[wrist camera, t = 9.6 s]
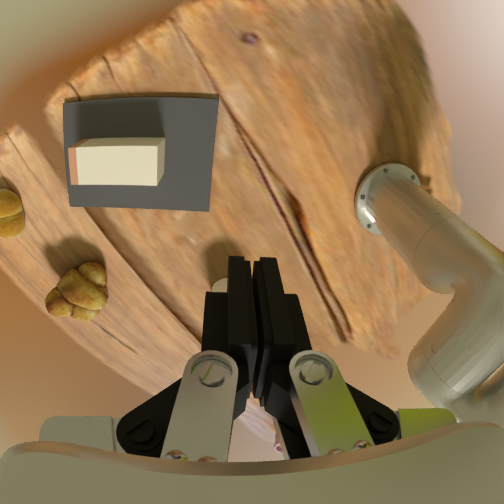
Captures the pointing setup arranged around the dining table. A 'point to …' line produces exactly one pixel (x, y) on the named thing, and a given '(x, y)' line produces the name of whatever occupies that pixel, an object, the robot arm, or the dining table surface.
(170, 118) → the rubber mat
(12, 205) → the bread roll
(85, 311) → the bread roll
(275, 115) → the dining table surface
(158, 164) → the cream block
